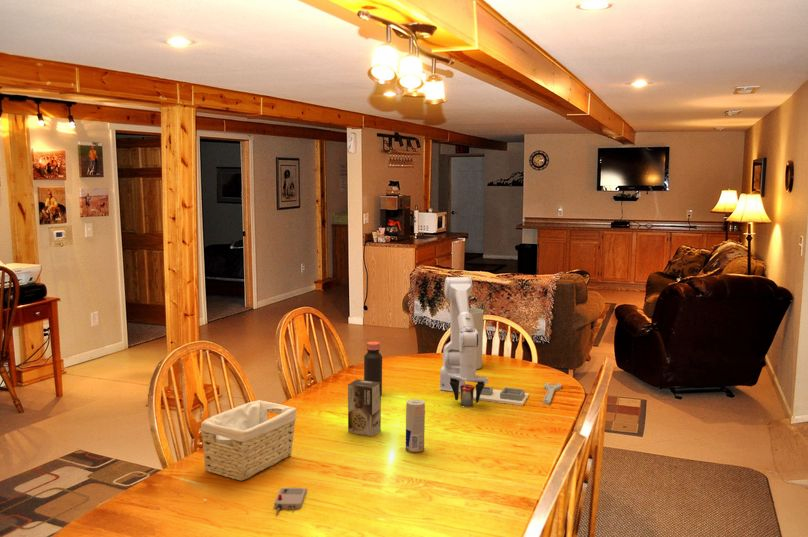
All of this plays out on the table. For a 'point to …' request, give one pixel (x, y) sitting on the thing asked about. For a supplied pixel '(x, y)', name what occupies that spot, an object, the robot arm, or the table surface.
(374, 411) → the coffee box
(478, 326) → the cylinder vase
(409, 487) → the table surface
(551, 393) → the adjustable wrench
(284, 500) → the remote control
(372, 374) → the bottle
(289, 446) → the storage basket
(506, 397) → the socket board
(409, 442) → the beverage can
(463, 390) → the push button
